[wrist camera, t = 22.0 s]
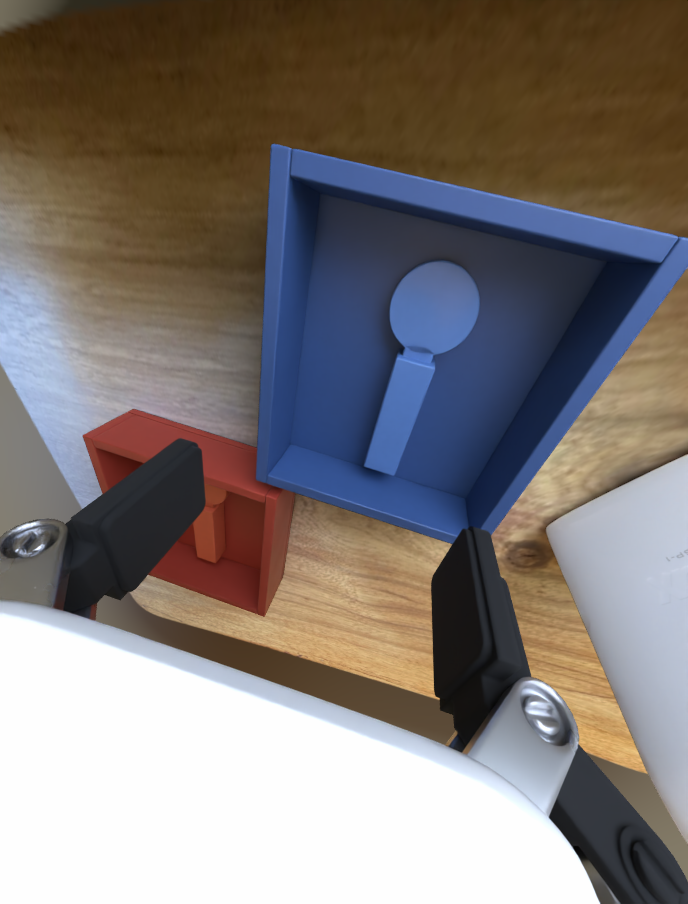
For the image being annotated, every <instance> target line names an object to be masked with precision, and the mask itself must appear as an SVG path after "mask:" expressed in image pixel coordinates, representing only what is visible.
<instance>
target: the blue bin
mask: <svg viewBox="0 0 688 904" xmlns="http://www.w3.org/2000/svg"><path fill="white" fill-rule="evenodd" d="M434 260H445V261H450V262H453V263H455V264H457V265H459V266H461V267H462V268H464V269H465V270H466V271H467V272H468V273H469V274H470V275H471V276H472V278H473V279H474V281H475V283H476V285H477V288H478V291H479V297H480V307H479V313H478V317H477V320H476V323H475V325H474V327H473V329H472V331H471V332H470V334H469V335H468V336H467V337H466V339H465V340H464V341H463V342H462V343H460V344H459V345H458V346H457V347H455V348H453V349H452V350H450V351H448V352H446V353H442V354H439V355H434V356H433V358H434V359H435V371H434V374H433V376H432V379H431V382H430V384H429V387H428V389H427V392H426V395H425V397H424V400H423V402H422V405H421V408H420V410H419V413H418V415H417V418H416V421H415V423H414V426H413V428H412V431H411V434H410V436H409V439H408V441H407V444H406V447H405V449H404V452H403V454H402V457H401V460H400V462H399V465H398V467H397V470H396V473H395V475H394V476H392V475H389V474H386V473H383V472H380V471H376V470H373V469H370V468H367V467H364V462H365V459H366V455H367V452H368V449H369V445H370V442H371V439H372V435H373V432H374V429H375V425H376V422H377V419H378V415H379V412H380V409H381V405H382V402H383V399H384V395H385V392H386V389H387V385H388V382H389V379H390V375H391V372H392V369H393V365H394V362H395V359H396V356H397V353H398V350H399V349H403V350H404V347H403V346H402V345H401V344H400V343H399V341H398V340H397V339H396V337H395V336H394V334H393V332H392V329H391V326H390V321H389V306H390V301H391V298H392V295H393V293H394V290H395V288H396V287H397V285H398V284H399V282H400V281H401V280H402V278H403V277H404V276H405V275H406V274H407V273H408V272H410V271H411V270H412V269H414V268H415V267H417V266H418V265H420V264H423V263H425V262H429V261H434ZM687 267H688V238H685V237H677V236H676V235H672V234H667V233H663V232H659V231H654V230H650V229H645V228H641V227H637V226H632V225H628V224H624V223H619V222H615V221H610V220H606V219H602V218H597V217H593V216H588V215H584V214H580V213H575V212H571V211H566V210H562V209H558V208H553V207H549V206H545V205H540V204H536V203H531V202H527V201H523V200H518V199H514V198H509V197H505V196H501V195H496V194H492V193H487V192H483V191H479V190H474V189H470V188H466V187H461V186H457V185H452V184H448V183H444V182H439V181H435V180H430V179H426V178H422V177H417V176H413V175H408V174H404V173H400V172H395V171H391V170H386V169H382V168H378V167H373V166H369V165H365V164H360V163H356V162H351V161H347V160H343V159H338V158H334V157H329V156H325V155H321V154H316V153H312V152H307V151H303V150H299V149H291V148H290V147H285V146H281V145H277V144H272V145H271V155H270V177H269V199H268V221H267V243H266V265H265V287H264V309H263V331H262V353H261V375H260V397H259V419H258V441H257V463H256V480H257V481H260V482H263V483H267V484H269V485H272V486H276V487H279V488H282V489H285V490H288V491H291V492H294V493H297V494H300V495H303V496H306V497H309V498H312V499H315V500H319V501H322V502H325V503H328V504H331V505H334V506H337V507H340V508H343V509H346V510H349V511H352V512H355V513H358V514H362V515H365V516H368V517H371V518H374V519H377V520H380V521H383V522H386V523H389V524H392V525H395V526H398V527H401V528H404V529H408V530H411V531H414V532H417V533H420V534H423V535H426V536H429V537H432V538H435V539H438V540H441V541H444V542H447V543H451V544H453V543H454V541H455V540H456V538H457V536H458V535H459V533H460V532H461V530H462V529H463V528H464V529H468V528H469V527H470V526H473V527H476V528H479V529H483V530H486V531H488V532H489V533H490V535H492V533H493V532H494V531H495V529H496V528H497V527H498V525H499V524H500V522H501V521H502V520H503V518H504V517H505V516H506V514H507V513H508V512H509V510H510V509H511V507H512V506H513V505H514V503H515V502H516V501H517V499H518V498H519V497H520V495H521V494H522V492H523V491H524V490H525V488H526V487H527V486H528V484H529V483H530V482H531V480H532V479H533V477H534V476H535V475H536V473H537V472H538V471H539V469H540V468H541V466H542V465H543V464H544V462H545V461H546V460H547V458H548V457H549V456H550V454H551V453H552V451H553V450H554V449H555V447H556V446H557V445H558V443H559V442H560V441H561V439H562V438H563V436H564V435H565V434H566V432H567V431H568V430H569V428H570V427H571V426H572V424H573V423H574V421H575V420H576V419H577V417H578V416H579V415H580V413H581V412H582V411H583V409H584V408H585V406H586V405H587V404H588V402H589V401H590V400H591V398H592V397H593V396H594V394H595V393H596V391H597V390H598V389H599V387H600V386H601V385H602V383H603V382H604V380H605V379H606V378H607V376H608V375H609V374H610V372H611V371H612V370H613V368H614V367H615V365H616V364H617V363H618V361H619V360H620V359H621V357H622V356H623V355H624V353H625V352H626V350H627V349H628V348H629V346H630V345H631V344H632V342H633V341H634V340H635V338H636V337H637V335H638V334H639V333H640V331H641V330H642V329H643V327H644V326H645V325H646V323H647V322H648V320H649V319H650V318H651V316H652V315H653V314H654V312H655V311H656V310H657V308H658V307H659V305H660V304H661V303H662V301H663V300H664V299H665V297H666V296H667V294H668V293H669V292H670V290H671V289H672V288H673V286H674V285H675V284H676V282H677V281H678V279H679V278H680V277H681V275H682V274H683V273H684V271H685V270H686V269H687Z"/></svg>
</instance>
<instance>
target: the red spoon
mask: <svg viewBox="0 0 688 904" xmlns="http://www.w3.org/2000/svg"><path fill="white" fill-rule="evenodd" d="M204 486H205V499H206V504H205V508H204V510H203V511H202V513H201V514H200V515H199V516H198V517H197V518H196V520H195V521H194V522H193V527H194V535H195V542H196V550H197V557H199V558H202V559H205V560H208V561H211V562H213V563H217V561H218V560H219V558H220V557H221V556H222V554H223V553H224V551H225V550H226V543H225V518H224V500H225V499H226V498H227V497H228V496H229V494H230V493H231V492H229V491H226V490H223V489H220V488H217V487H214V486H211V485H208V484H205V483H204Z"/></svg>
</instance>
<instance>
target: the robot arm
mask: <svg viewBox="0 0 688 904" xmlns="http://www.w3.org/2000/svg"><path fill="white" fill-rule="evenodd" d="M205 504H206V499H205V486H204V472H203V459H202V450H201V449H200V448H199V447H198V444H197V443H195V442H192V441H189V440H185V439H182V438H178V439H177V440H175V441H174V442H172V443H171V444H170V445H168V446H167V447H166V448H164V449H163V450H162V451H160V452H159V453H158V454H156V455H155V456H154V457H152V458H151V459H149V460H148V461H147V462H145V463H144V464H143V465H141V466H140V467H139V468H137V469H136V470H135V471H133V472H132V473H131V474H129V475H128V476H127V477H125V478H124V479H123V480H121V481H120V482H119V483H117V484H116V485H114V486H113V487H112V488H110V489H109V490H108V491H106V492H105V493H104V494H102V495H101V496H100V497H98V498H97V499H96V500H94V501H93V502H92V503H90V504H89V505H88V506H86V507H85V508H84V509H82V510H81V511H80V512H78V513H77V514H76V515H74V516H73V517H71V520H70V521H69V522H67V523H66V524H64V523H63V522H61V521H58V520H55V519H39V520H33V521H29V522H26V523H23V524H21V525H18V526H16V527H14V528H12V529H10V530H9V531H7V532H6V533H4V534H3V535H2V536H1V537H0V904H688V882H687V879H686V877H685V875H684V873H683V872H682V870H681V868H680V866H679V865H678V863H677V861H676V860H675V858H674V856H673V855H672V854H671V852H670V851H669V850H668V848H667V847H666V846H665V844H664V843H663V842H662V840H661V839H660V838H659V837H658V836H657V835H656V834H655V832H654V831H653V830H652V829H651V828H650V827H649V826H648V824H647V823H646V822H645V821H644V820H643V818H642V817H641V816H640V815H639V814H638V813H637V811H636V810H635V809H634V808H633V807H632V806H631V805H630V803H629V802H628V801H627V800H626V799H625V798H624V796H623V795H622V794H621V793H620V792H619V791H618V789H617V788H616V787H615V786H614V785H613V784H612V783H611V781H610V780H609V779H608V778H607V777H606V775H604V773H603V772H602V771H601V770H600V769H599V767H598V766H597V765H596V764H595V763H594V762H593V760H592V759H591V758H590V757H589V756H588V755H587V753H586V752H585V751H584V750H583V749H582V748H581V747H580V745H579V744H578V742H579V734H578V728H577V724H576V722H575V719H574V717H573V714H572V713H571V711H570V709H569V708H568V706H567V704H566V703H565V701H564V700H563V699H562V698H561V697H560V695H559V694H558V693H557V692H556V691H555V690H554V689H552V688H551V687H550V686H549V685H548V684H546V683H544V682H543V681H541V680H539V679H537V678H533V677H531V673H530V669H529V666H528V662H527V658H526V654H525V650H524V646H523V642H522V639H521V635H520V631H519V627H518V623H517V619H516V616H515V612H514V608H513V604H512V600H511V596H510V592H509V589H508V585H507V583H506V581H505V580H504V578H501V576H500V572H499V568H498V563H497V559H496V555H495V551H494V547H493V543H492V539H491V535H490V533H489V532H488V531H486V530H483V529H479V528H476V527H473V526H470V527H469V528H468V529H464V528H463V529H462V530H461V532H460V533H459V535H458V536H457V538H456V540H455V541H454V543H453V544H452V546H451V548H450V549H449V551H448V552H447V554H446V556H445V557H444V559H443V560H442V562H441V564H440V565H439V567H438V568H437V570H436V572H435V573H434V575H433V578H432V583H431V593H432V629H433V666H434V692H435V695H436V697H438V698H440V710H441V711H444V712H446V713H449V714H452V715H453V718H454V728H455V730H456V732H455V733H454V734H453V736H452V737H451V738H450V739H449V741H448V742H447V743H446V745H443V744H440V743H438V742H436V741H433V740H431V739H428V738H425V737H423V736H420V735H417V734H415V733H412V732H409V731H407V730H404V729H401V728H399V727H396V726H393V725H391V724H388V723H386V722H383V721H380V720H378V719H375V718H372V717H369V716H366V715H364V714H361V713H358V712H355V711H352V710H350V709H347V708H344V707H341V706H338V705H335V704H333V703H330V702H327V701H324V700H321V699H319V698H316V697H313V696H310V695H307V694H305V693H301V692H299V691H296V690H293V689H291V688H288V687H285V686H282V685H279V684H276V683H273V682H271V681H267V680H265V679H262V678H259V677H256V676H254V675H251V674H248V673H245V672H242V671H239V670H237V669H234V668H231V667H228V666H225V665H222V664H219V663H217V662H213V661H211V660H208V659H205V658H202V657H199V656H197V655H194V654H191V653H188V652H185V651H182V650H179V649H176V648H173V647H171V646H167V645H165V644H162V643H159V642H156V641H153V640H150V639H147V638H144V637H141V636H138V635H136V634H133V633H130V632H127V631H124V630H121V629H118V628H115V627H112V626H109V625H106V624H103V623H100V622H97V621H95V620H96V608H97V602H98V601H99V600H100V599H101V598H102V597H103V596H104V595H107V596H110V597H112V598H115V599H118V600H121V599H122V598H123V597H124V596H125V595H126V593H127V592H131V591H133V590H135V589H136V588H137V587H138V586H139V585H140V583H141V582H142V581H143V580H144V579H145V578H146V576H147V575H148V574H149V573H150V572H151V571H152V569H153V568H154V567H155V566H156V565H157V564H158V563H159V561H160V560H161V559H162V558H163V557H164V556H165V554H166V553H167V552H168V551H169V550H170V549H171V547H172V546H173V545H174V544H175V543H176V542H177V540H178V539H179V538H180V537H181V536H182V535H183V534H184V532H185V531H186V530H187V529H188V528H189V527H190V525H191V524H192V523H193V522H194V521H195V520H196V518H197V517H198V516H199V515H200V514H201V513H202V511H203V510H204V508H205Z"/></svg>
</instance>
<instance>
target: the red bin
mask: <svg viewBox="0 0 688 904" xmlns="http://www.w3.org/2000/svg"><path fill="white" fill-rule="evenodd" d="M83 438H84V441H85V444H86V447H87V450H88V453H89V456H90V459H91V461H92V464H93V467H94V470H95V473H96V476H97V479H98V482H99V485H100V487H101V490H102V493H103V494H104V493H105V492H106V491H108V490H109V489H110V488H112V487H113V486H114V485H116V484H117V483H119V482H120V481H121V480H123V479H124V478H125V477H127V476H128V475H129V474H131V473H132V472H133V471H135V470H136V469H137V468H139V467H140V466H141V465H143V464H144V463H145V462H147V461H148V460H149V459H151V458H152V457H154V456H155V455H156V454H158V453H159V452H160V451H162V450H163V449H164V448H166V447H167V446H168V445H170V444H171V443H172V442H174V441H175V440H177V439H178V438H182V439H185V440H189V441H192V442H195V443H197V444H198V447H199V448H200V449H201V450H202V459H203V472H204V483H205V484H208V485H211V486H214V487H217V488H220V489H223V490H226V491H229V492H231V493H230V494H229V496H228V497H227V498H226V499H225V500H224V518H225V543H226V550H225V551H224V553H223V554H222V556H221V557H220V558H219V560H218V561H217V563H213V562H211V561H208V560H205V559H202V558H199V557H197V550H196V542H195V535H194V527H193V523H192V524H191V525H190V527H189V528H188V529H187V530H186V531H185V532H184V534H183V535H182V536H181V537H180V538H179V539H178V540H177V542H176V543H175V544H174V545H173V546H172V547H171V549H170V550H169V551H168V552H167V553H166V554H165V556H164V557H163V558H162V559H161V560H160V561H159V563H158V564H157V565H156V566H155V567H154V568H153V569H152V571H151V572H150V573H149V574H148V575H151V576H153V577H156V578H159V579H162V580H164V581H167V582H170V583H173V584H175V585H178V586H181V587H184V588H186V589H189V590H192V591H195V592H197V593H200V594H203V595H206V596H208V597H211V598H214V599H217V600H219V601H222V602H225V603H228V604H230V605H233V606H236V607H239V608H241V609H244V610H247V611H250V612H252V613H255V614H258V615H261V616H263V617H264V616H265V615H266V613H267V611H268V608H269V606H270V604H271V602H272V600H273V598H274V595H275V593H276V591H277V589H278V587H279V585H280V582H281V580H282V578H283V574H284V568H285V561H286V554H287V548H288V541H289V534H290V527H291V521H292V514H293V507H294V501H295V494H296V493H294V492H291V491H288V490H285V489H282V488H279V487H276V486H272V485H269V484H267V483H263V482H260V481H257V480H256V463H257V448H256V447H252V446H249V445H246V444H243V443H240V442H237V441H234V440H230V439H227V438H224V437H221V436H218V435H215V434H211V433H208V432H205V431H202V430H199V429H196V428H192V427H189V426H186V425H183V424H180V423H177V422H173V421H170V420H167V419H164V418H161V417H158V416H155V415H151V414H148V413H145V412H142V411H139V410H136V409H132V410H130V411H128V413H125V414H123V415H121V416H119V417H117V418H115V419H113V420H111V421H109V422H107V423H105V424H104V425H102V426H100V427H98V428H96V429H94V430H92V431H90V432H88V433H86V434H84V435H83Z"/></svg>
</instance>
